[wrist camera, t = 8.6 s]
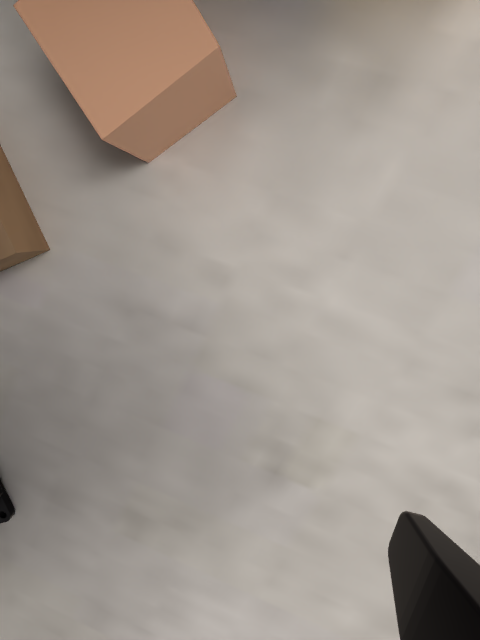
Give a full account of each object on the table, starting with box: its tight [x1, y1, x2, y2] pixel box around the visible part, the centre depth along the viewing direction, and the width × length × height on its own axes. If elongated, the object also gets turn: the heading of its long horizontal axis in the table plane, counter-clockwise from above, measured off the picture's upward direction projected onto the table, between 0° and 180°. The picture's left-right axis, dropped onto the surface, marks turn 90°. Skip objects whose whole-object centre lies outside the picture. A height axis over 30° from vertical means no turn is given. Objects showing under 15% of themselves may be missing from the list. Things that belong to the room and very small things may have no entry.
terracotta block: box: [13, 0, 237, 163], centre depth 15 cm, size 5×5×5 cm
